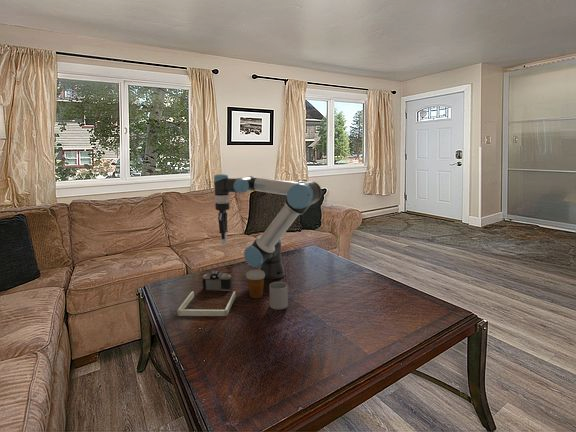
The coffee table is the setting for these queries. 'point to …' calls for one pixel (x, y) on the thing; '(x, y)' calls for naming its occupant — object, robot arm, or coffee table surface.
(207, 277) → the camera
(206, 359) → the coffee table surface
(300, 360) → the coffee table surface
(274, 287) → the cup
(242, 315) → the coffee table surface
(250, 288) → the disposable coffee cup
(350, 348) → the coffee table surface
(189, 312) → the docking bay
